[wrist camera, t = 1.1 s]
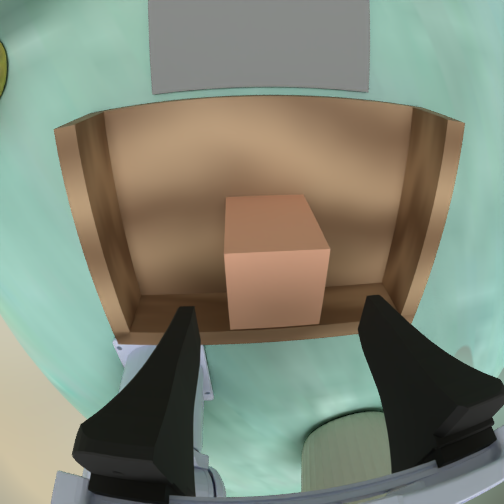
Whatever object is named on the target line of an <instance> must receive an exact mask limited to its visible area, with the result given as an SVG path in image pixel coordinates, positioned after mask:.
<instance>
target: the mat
mask: <svg viewBox="0 0 504 504" xmlns="http://www.w3.org/2000/svg"><path fill="white" fill-rule="evenodd" d="M148 19H149V47H150V66H151V81H152V94H160V93H169V92H178V91H188V90H199V89H213V88H232V87H307V88H326V89H340V90H351V91H361V92H368V90H369V62H370V10H369V0H148Z"/></svg>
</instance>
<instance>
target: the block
mask: <svg viewBox="0 0 504 504" xmlns="http://www.w3.org/2000/svg"><path fill="white" fill-rule="evenodd" d="M329 256H330V247H329V245H328V243H327V241H326V239H325V237H324V235H323V233H322V231H321V229H320V226H319V224H318V222H317V220H316V218H315V216H314V214H313V212H312V210H311V208H310V206H309V204H308V203H307V201H306V199H305V197H304V195H303V194H302V195H263V196H238V197H226V210H225V236H224V261H225V274H226V286H227V297H228V309H229V320H230V330H233V329H254V328H271V327H286V326H300V325H312V324H319V322H320V316H321V310H322V304H323V297H324V291H325V284H326V278H327V271H328V263H329Z"/></svg>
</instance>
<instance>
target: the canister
mask: <svg viewBox="0 0 504 504" xmlns="http://www.w3.org/2000/svg"><path fill="white" fill-rule="evenodd" d="M389 474H392V473H391V458H390V447H389V440H388V433H387V427H386V422H385V416H384V413H382V412H375V411H372V412H369V411H368V412H361V413H355V414H352V415H347V416H344V417H341V418H339V419H335V420H333V421H330V422H328V423H327V424H324V425H322V426H321V427H319V428H317V430H315V431H313V432H312V433H311V434H310V435H309V436H308V438H307V439H306V441H305V443H304V446H303V450H302V472H301V492H307V491H314V490H321V489H327V488H332V487H338V486H343V485H348V484H353V483H357V482H362V481H366V480H370V479H374V478H378V477H382V476H386V475H389ZM389 493H390V492H389ZM386 494H387V493H385V494H382V495H378V496H374V497H370V498H366V499H362V500H358V501H353V502H349V503H344V504H358V503H362V502H366V501H370V500H374V499H378V498H382V497H385V496H386Z"/></svg>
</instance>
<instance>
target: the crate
mask: <svg viewBox="0 0 504 504" xmlns="http://www.w3.org/2000/svg"><path fill="white" fill-rule="evenodd" d="M464 126H465V123H463V122H461V121H458V120H455V119H453V118H450V117H447V116H445V115H442V114H439V113H436V112H434V111H431V110H428V109H425V108H421V107H415V106H409V105H403V104H396V103H388V102H380V101H372V100H362V99H352V98H339V97H324V96H302V95H242V96H220V97H204V98H192V99H181V100H172V101H163V102H155V103H147V104H140V105H134V106H127V107H121V108H115V109H110V110H104V111H99V112H94V113H90V114H88V115H85V116H83V117H80V118H78V119H76V120H73V121H71V122H69V123H67V124H64V125H62V126H60V127H58V128H56V129H54V134H55V139H56V145H57V150H58V156H59V161H60V166H61V170H62V175H63V179H64V184H65V188H66V192H67V196H68V200H69V204H70V208H71V212H72V215H73V219H74V223H75V226H76V230H77V233H78V236H79V240H80V243H81V246H82V249H83V253H84V256H85V259H86V262H87V265H88V268H89V271H90V274H91V276H92V279H93V282H94V285H95V288H96V290H97V293H98V296H99V298H100V301H101V304H102V306H103V309H104V311H105V314H106V316H107V319H108V321H109V323H110V326H111V328H112V331H113V333H114V335H115V338H116V340H117V342H118V344H124V345H158V343H159V342H160V340H161V338H162V337H163V335H164V333H165V332H166V330H167V328H168V326H169V325H170V323H171V321H172V319H173V317H174V315H175V313H176V311H177V309H178V308H179V307H180V306H195V312H196V317H197V323H198V328H199V333H200V339H201V345H219V344H244V343H263V342H278V341H291V340H304V339H315V338H325V337H335V336H344V335H352V334H359V333H358V326H359V322H360V319H361V315H362V312H363V308H364V304H365V300H366V297H367V296H369V295H380V296H382V297H383V298H384V299H385V300H386V301H387V302H388V303H389V304H390V305H391V306H392V307H393V308H394V309H395V310H396V311H397V312H399V313H400V314H401V315H402V316H403V317H404V318H405V319H406V320H407V321H408V322H409V323H410V324H411V323H412V321H413V318H414V316H415V313H416V311H417V308H418V305H419V303H420V300H421V297H422V295H423V292H424V289H425V286H426V284H427V281H428V278H429V275H430V272H431V269H432V266H433V263H434V260H435V256H436V253H437V250H438V247H439V243H440V240H441V236H442V233H443V229H444V226H445V222H446V218H447V214H448V210H449V206H450V202H451V198H452V193H453V189H454V184H455V179H456V174H457V169H458V164H459V159H460V153H461V147H462V140H463V134H464ZM302 194H303V195H304V197H305V199H306V201H307V203H308V204H309V206H310V208H311V210H312V212H313V214H314V216H315V218H316V220H317V222H318V224H319V226H320V229H321V231H322V233H323V235H324V237H325V239H326V241H327V243H328V245H329V247H330V256H329V263H328V271H327V278H326V284H325V291H324V297H323V304H322V310H321V316H320V322H319V324H312V325H300V326H286V327H271V328H254V329H233V330H230V320H229V309H228V297H227V286H226V274H225V261H224V236H225V210H226V197H238V196H263V195H302Z"/></svg>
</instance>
